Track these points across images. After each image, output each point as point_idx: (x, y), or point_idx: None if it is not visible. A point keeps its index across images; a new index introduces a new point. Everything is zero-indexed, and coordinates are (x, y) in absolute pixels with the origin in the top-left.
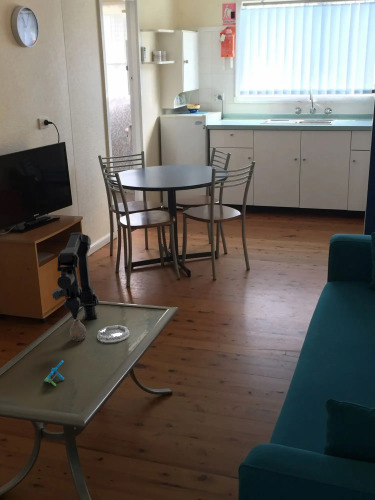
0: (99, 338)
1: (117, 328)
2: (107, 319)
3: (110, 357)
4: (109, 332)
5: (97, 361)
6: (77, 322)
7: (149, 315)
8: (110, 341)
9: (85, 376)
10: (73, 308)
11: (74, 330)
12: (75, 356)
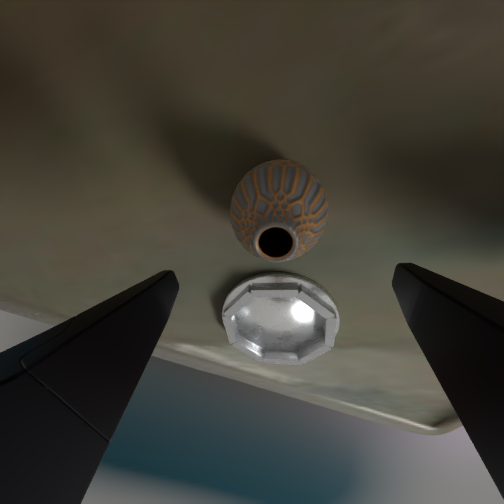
0: (246, 285)
1: (322, 335)
2: None
3: None
4: (295, 313)
5: (101, 280)
6: (254, 249)
7: (411, 397)
8: (222, 314)
9: (13, 256)
10: (30, 413)
11: (231, 209)
12: (115, 208)
